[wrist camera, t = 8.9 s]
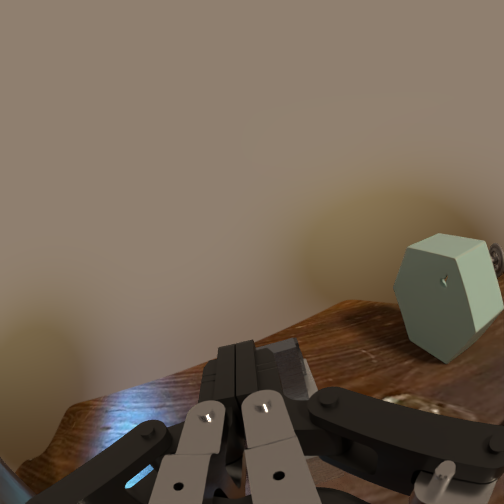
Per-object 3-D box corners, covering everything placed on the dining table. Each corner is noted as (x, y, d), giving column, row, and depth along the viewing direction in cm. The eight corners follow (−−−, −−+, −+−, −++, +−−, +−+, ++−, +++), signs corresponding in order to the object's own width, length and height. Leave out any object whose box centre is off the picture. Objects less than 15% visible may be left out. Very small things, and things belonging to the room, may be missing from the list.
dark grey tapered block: (313, 417, 27) (296, 346, 25) (260, 431, 27) (232, 363, 25) (297, 366, 38) (280, 303, 36) (255, 377, 38) (234, 316, 36)
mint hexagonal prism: (461, 356, 39) (522, 282, 24) (432, 377, 38) (496, 307, 23) (414, 290, 50) (448, 205, 36) (385, 305, 49) (415, 217, 35)
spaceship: (427, 253, 58) (438, 248, 50) (531, 239, 48) (547, 234, 40) (430, 287, 57) (441, 287, 49) (534, 269, 47) (550, 267, 39)
